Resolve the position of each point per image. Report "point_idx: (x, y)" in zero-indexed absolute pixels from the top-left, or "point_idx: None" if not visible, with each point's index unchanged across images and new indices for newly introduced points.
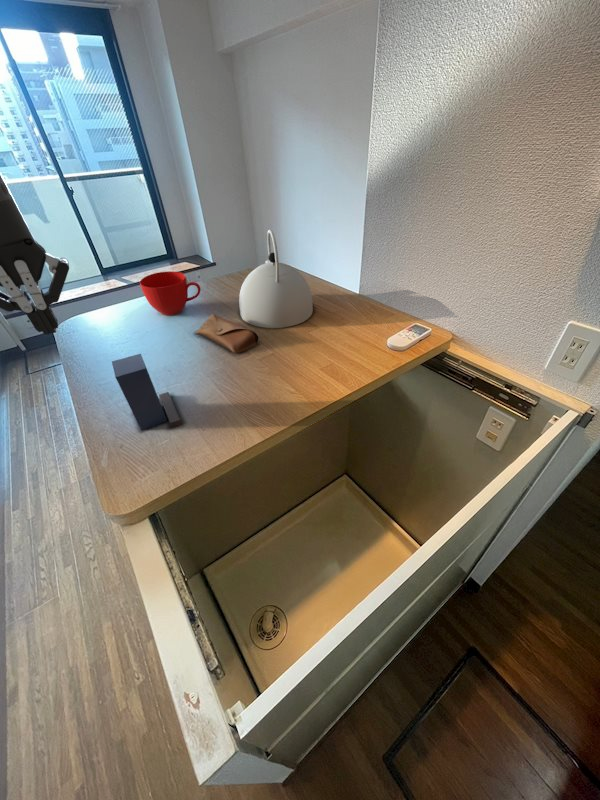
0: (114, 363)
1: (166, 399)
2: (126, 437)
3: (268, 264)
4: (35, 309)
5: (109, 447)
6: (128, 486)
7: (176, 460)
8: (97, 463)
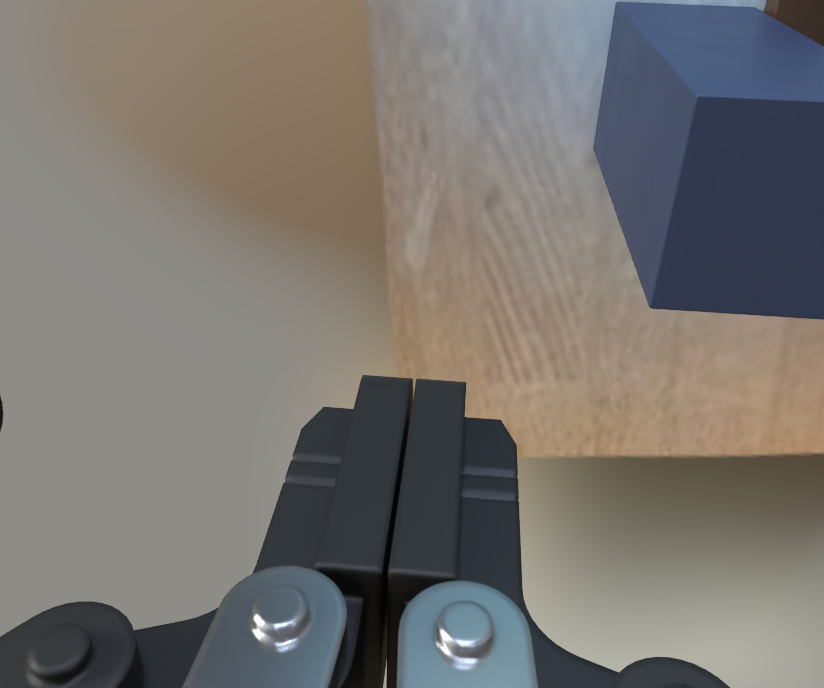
0: (703, 137)
1: (804, 22)
2: (522, 155)
3: None
4: (363, 651)
5: (445, 176)
6: (470, 388)
7: (645, 376)
8: (391, 237)
